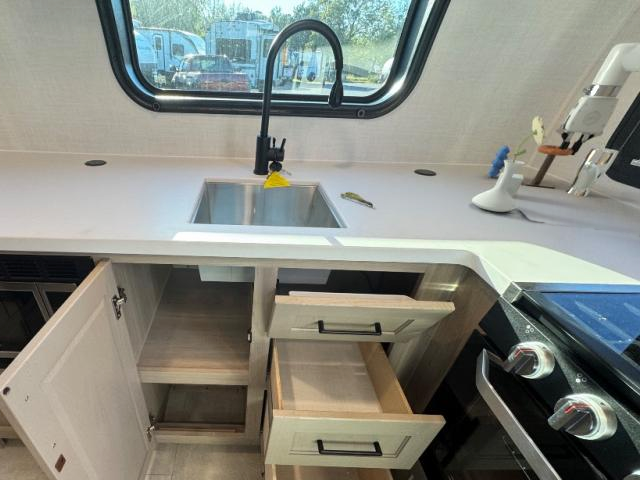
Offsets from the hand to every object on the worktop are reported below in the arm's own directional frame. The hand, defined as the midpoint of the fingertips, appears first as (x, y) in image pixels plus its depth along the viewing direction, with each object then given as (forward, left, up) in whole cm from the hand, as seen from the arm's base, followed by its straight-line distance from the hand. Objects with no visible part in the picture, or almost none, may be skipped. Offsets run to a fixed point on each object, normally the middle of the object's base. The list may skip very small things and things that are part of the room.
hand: (565, 153), depth 112 cm
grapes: (+16, -6, -12) cm, 21 cm away
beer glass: (-6, +9, -12) cm, 16 cm away
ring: (+4, 0, +1) cm, 4 cm away
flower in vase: (+26, +36, -12) cm, 46 cm away
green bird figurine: (+65, +47, -12) cm, 82 cm away
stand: (+4, 0, -12) cm, 12 cm away
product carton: (+20, +22, -12) cm, 32 cm away
